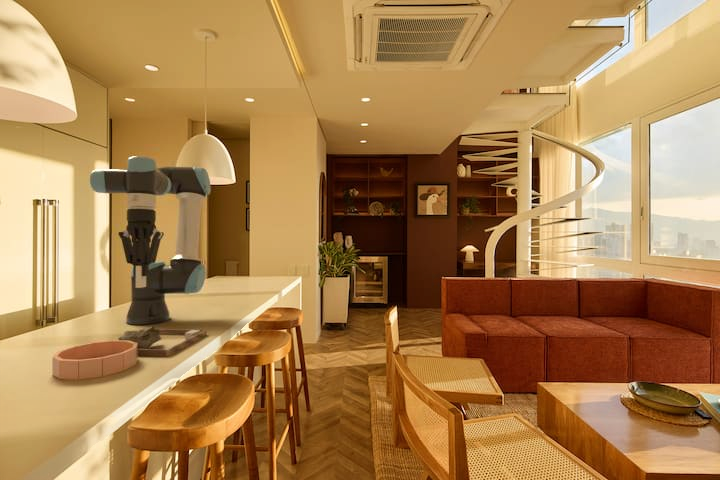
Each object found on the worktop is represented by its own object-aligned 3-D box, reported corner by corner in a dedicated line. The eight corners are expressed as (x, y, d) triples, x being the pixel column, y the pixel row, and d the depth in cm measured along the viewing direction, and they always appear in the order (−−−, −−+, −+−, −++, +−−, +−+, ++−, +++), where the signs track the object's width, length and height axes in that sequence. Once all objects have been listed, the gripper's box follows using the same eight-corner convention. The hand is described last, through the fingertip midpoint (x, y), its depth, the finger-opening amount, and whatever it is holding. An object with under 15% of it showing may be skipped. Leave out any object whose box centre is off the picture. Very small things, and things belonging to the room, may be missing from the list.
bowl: (92, 355, 108) (92, 339, 108) (151, 356, 106) (151, 341, 106) (34, 378, 90) (34, 359, 90) (104, 380, 89) (104, 361, 89)
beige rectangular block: (192, 336, 129) (192, 329, 129) (200, 337, 128) (200, 330, 128) (184, 339, 125) (184, 332, 125) (192, 340, 124) (192, 333, 124)
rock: (162, 335, 120) (162, 326, 112) (158, 354, 117) (157, 347, 109) (122, 333, 116) (118, 324, 108) (117, 352, 113) (113, 345, 105)
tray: (148, 334, 131) (148, 329, 131) (206, 335, 130) (206, 330, 130) (97, 354, 108) (97, 348, 108) (167, 356, 107) (167, 350, 107)
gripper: (111, 207, 109) (111, 288, 109) (154, 207, 108) (154, 288, 108) (129, 210, 116) (128, 285, 116) (169, 210, 116) (168, 286, 115)
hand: (140, 287), depth 112 cm, fingers closed
